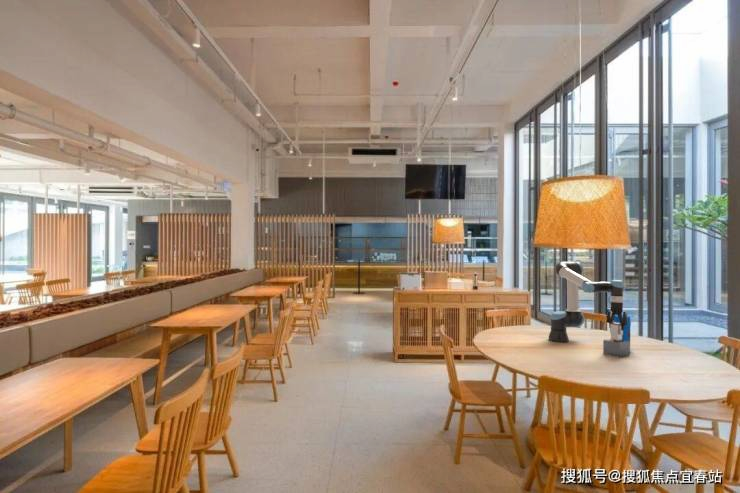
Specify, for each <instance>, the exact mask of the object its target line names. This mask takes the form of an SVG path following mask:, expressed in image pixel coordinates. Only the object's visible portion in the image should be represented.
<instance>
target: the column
mask: <svg viewBox="0 0 740 493" xmlns="http://www.w3.org/2000/svg"><path fill="white" fill-rule="evenodd" d="M620 325H621V324H620V323H617V322H614V321H613V323H611V333H610V338H611V339H612V340H615V342H622V335H620Z"/></svg>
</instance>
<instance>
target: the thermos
mask: <svg viewBox="0 0 740 493" xmlns="http://www.w3.org/2000/svg"><path fill="white" fill-rule="evenodd" d="M622 318H623V314H622ZM613 322H617V323H620V320H619V317H618V315H615V317H614V320H613ZM622 340H626V341H630V342H631V316H630V315H627V325H625V326H624V330H623V335H622Z"/></svg>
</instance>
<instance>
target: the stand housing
mask: <svg viewBox="0 0 740 493" xmlns="http://www.w3.org/2000/svg"><path fill="white" fill-rule="evenodd" d="M602 343H603V345H602V346H603V347H602V350H603V354H604V355H607V356H612V357H616V358H624V357H627V356H630V355H631V340H630V341H626V340H622V342H615V340H612V339H611V337H610V338H607V339H603V342H602Z"/></svg>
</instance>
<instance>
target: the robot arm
mask: <svg viewBox="0 0 740 493" xmlns="http://www.w3.org/2000/svg"><path fill="white" fill-rule="evenodd" d="M584 270H585V269H584V265H583V264H582V263H581V262H580V261H572V260H571V261H560V262H557V264H555V266H554V272H555V274H556V275H558V276H559V277H560V278H562V279H566V296H567V297H566V302H567V303H566V304H567V306H566V307H567V308H566V309H565V311H564V310H560V311H559V310H557V311H552V312H551V314H550V332H549V335H548V341H550V340H552V341H551V342H554V341H556V342H555V343H568V342H569V341H570V340H569V339H570V338H569V337H568V333H567V328H579V327H581V326H583V324H584V323H585V315H584V314H583V313H582V311H581V309H580V305H579V304H580V300H579V297H580V296H579V287H580V288H581V290H583V292H584V293H589V294H591V293H610V308H607V309H606V323H608V328H609V331H610V332H609V333H610V334H611V323H613V322H614V317H615V315H618V317H619V320H620V324H621V325H620V335H623V330H624V326H625V325H627V316H628V311H627V310H624V309H623V308H624V303H623V302H624V283H623V280H619V279H612V280H610V282H609V281H603V280H602V281H592V280H589V279H587V278H586V277H585V276H582V275H583V273H584ZM622 315H623V318H622Z"/></svg>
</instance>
